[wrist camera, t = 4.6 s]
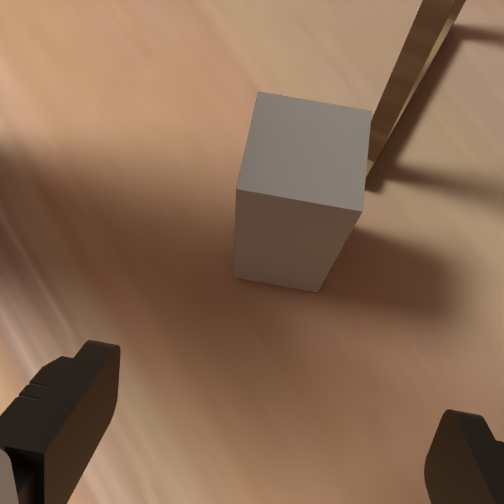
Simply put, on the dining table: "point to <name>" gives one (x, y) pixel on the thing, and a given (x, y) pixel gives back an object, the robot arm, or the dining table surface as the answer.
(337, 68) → the dining table surface
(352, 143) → the granite block
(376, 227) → the dining table surface
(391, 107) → the frame
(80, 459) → the robot arm
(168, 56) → the dining table surface
